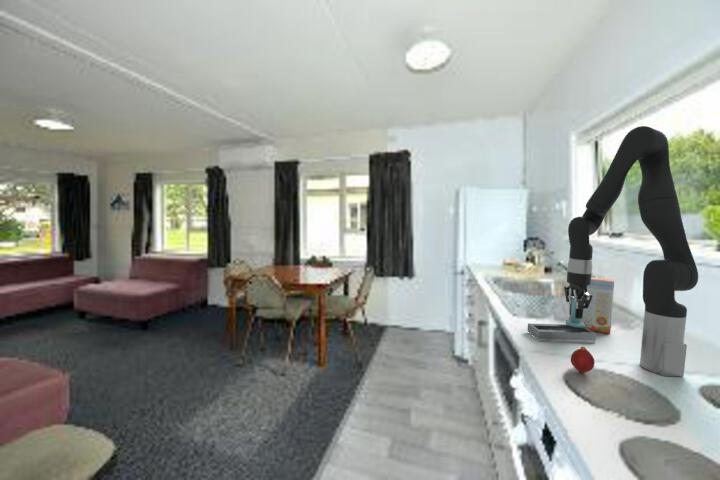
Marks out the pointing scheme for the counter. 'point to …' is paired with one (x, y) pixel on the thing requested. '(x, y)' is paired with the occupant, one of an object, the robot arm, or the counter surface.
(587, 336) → the grey rectangular tray
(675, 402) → the counter surface
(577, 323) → the peg
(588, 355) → the onion
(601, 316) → the cracker box
